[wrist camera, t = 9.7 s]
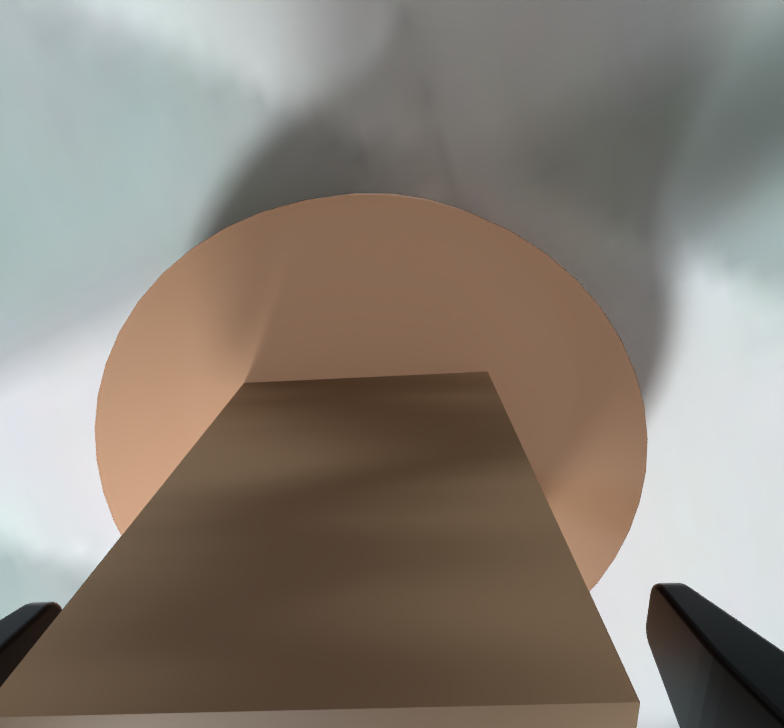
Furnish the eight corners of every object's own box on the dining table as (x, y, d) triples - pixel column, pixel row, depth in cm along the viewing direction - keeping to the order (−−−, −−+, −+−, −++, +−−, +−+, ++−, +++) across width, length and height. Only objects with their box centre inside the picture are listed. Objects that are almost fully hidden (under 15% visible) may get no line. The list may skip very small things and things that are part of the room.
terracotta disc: (615, 177, 12) (683, 175, 9) (581, 588, 16) (620, 675, 13) (111, 207, 12) (24, 213, 9) (201, 599, 16) (158, 686, 13)
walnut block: (487, 370, 10) (640, 702, 4) (486, 569, 12) (591, 1045, 5) (243, 382, 10) (-24, 718, 4) (276, 577, 12) (126, 1045, 6)
